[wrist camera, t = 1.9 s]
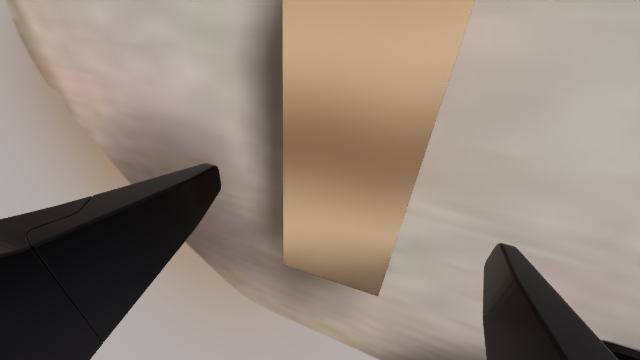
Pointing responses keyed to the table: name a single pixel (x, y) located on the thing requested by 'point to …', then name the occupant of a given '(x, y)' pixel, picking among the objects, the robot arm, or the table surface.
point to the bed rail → (359, 125)
